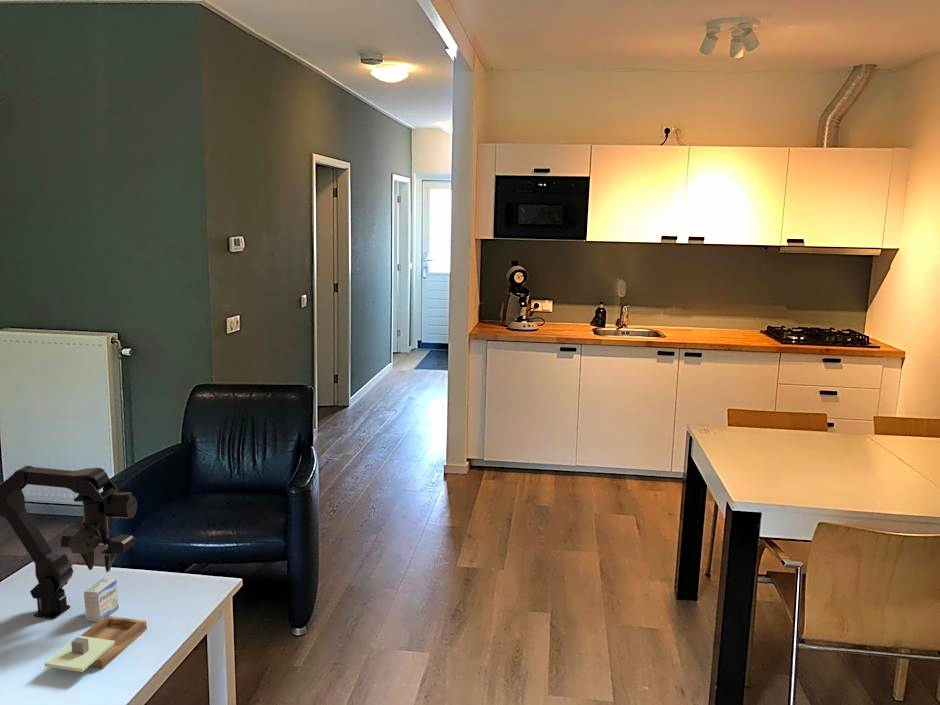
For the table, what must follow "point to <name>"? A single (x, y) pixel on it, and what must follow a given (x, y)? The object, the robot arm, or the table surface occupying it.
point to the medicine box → (101, 600)
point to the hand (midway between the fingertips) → (99, 570)
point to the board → (115, 636)
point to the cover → (80, 653)
